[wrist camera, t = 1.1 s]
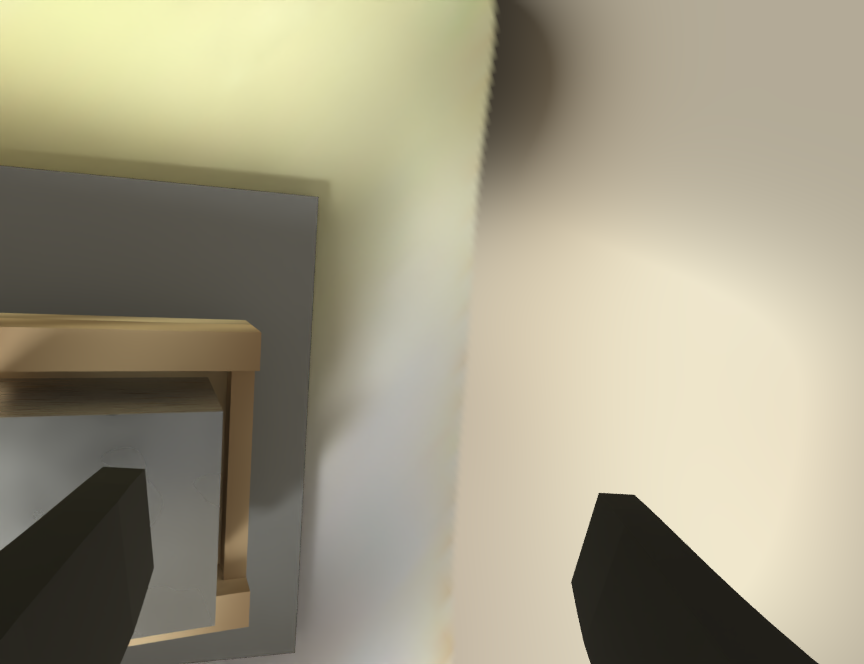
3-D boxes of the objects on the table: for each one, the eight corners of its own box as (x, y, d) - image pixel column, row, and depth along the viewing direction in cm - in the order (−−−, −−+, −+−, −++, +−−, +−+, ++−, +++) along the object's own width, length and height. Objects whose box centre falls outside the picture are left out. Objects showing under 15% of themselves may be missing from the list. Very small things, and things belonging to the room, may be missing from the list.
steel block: (208, 376, 17) (223, 411, 14) (202, 549, 18) (214, 625, 14) (-8, 378, 15) (-57, 419, 12) (-8, 572, 16) (-55, 669, 12)
